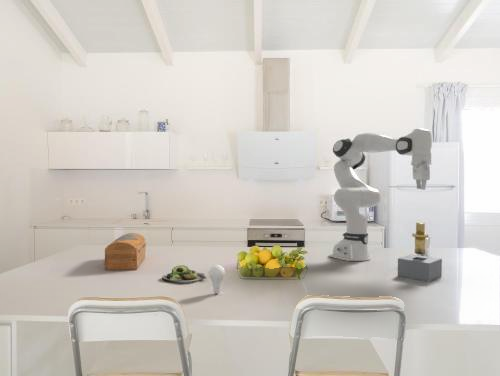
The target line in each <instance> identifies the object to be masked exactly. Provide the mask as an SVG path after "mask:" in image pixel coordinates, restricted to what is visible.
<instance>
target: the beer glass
mask: <svg viewBox="0 0 500 376" xmlns="http://www.w3.org/2000/svg"><path fill="white" fill-rule="evenodd" d="M431 248H432V241H431V237H429V236H428V237H427V238H426V239H425V254H416V253H415V255H420V256H427V257H431V256H430V255H431V251H432V250H431Z"/></svg>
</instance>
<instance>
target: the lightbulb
mask: <svg viewBox="0 0 500 376" xmlns="http://www.w3.org/2000/svg"><path fill="white" fill-rule="evenodd" d="M225 271H226V270H225V269H224V267H223V266H221V265H219V264H214V265H212V266H211V267H210V268H209V271H208V276H209V278H210V280H211V282H212V288H213V293H215V294H219V293H221V286H222V282H223V280H224V277H225V276H226V272H225Z"/></svg>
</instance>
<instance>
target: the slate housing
mask: <svg viewBox="0 0 500 376" xmlns="http://www.w3.org/2000/svg"><path fill="white" fill-rule="evenodd" d="M442 265H443V258H439V257H431V256H429V257H427V256H420V255H416V254H414V253H413V254H412V253H411V254H407V255H404V256H401V257H398V258H397V277H402V278H406V279H407V278H408V279H412V280H416V279H418V280H417V281H422V280H424V281H423V282H427V281H430V282H432V281H434V280H436V278H437V279H439V278H441V277H442V276H443V275H442V272H443V267H442ZM438 277H439V278H438ZM433 279H434V280H433ZM431 280H432V281H431Z"/></svg>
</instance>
